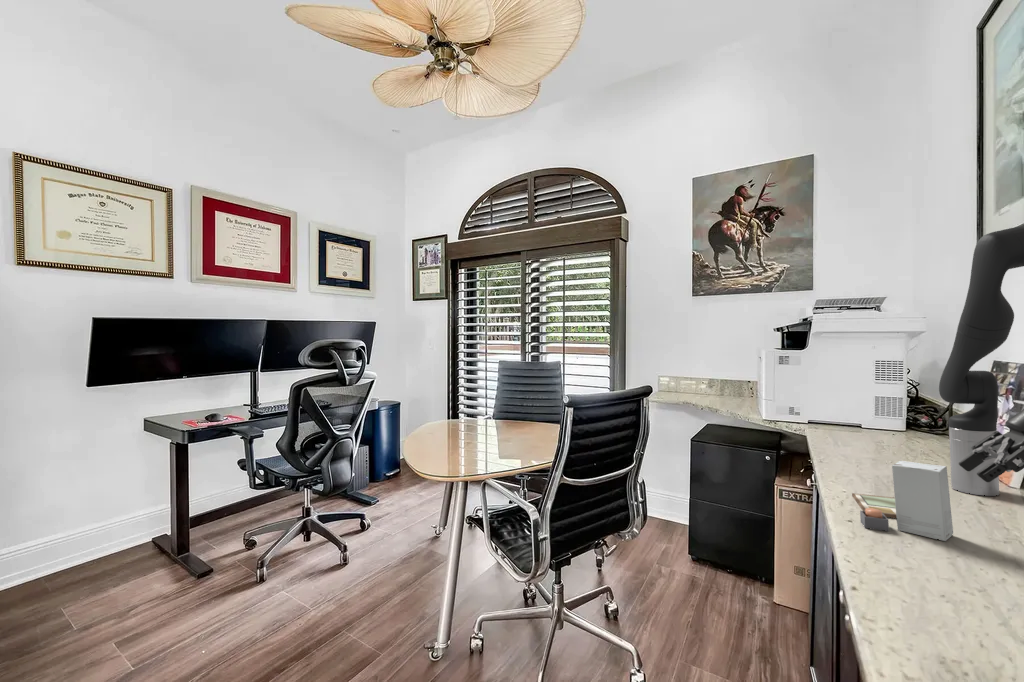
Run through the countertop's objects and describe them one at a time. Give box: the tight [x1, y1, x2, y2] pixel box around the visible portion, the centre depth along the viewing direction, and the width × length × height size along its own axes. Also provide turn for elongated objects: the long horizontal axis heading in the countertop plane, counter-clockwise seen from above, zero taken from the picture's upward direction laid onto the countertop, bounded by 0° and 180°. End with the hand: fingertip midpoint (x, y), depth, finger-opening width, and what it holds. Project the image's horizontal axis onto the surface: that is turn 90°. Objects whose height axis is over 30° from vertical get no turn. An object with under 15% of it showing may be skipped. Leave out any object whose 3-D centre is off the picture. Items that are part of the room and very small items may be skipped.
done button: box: [865, 508, 882, 518], centre depth 101 cm, size 3×3×2 cm
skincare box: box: [891, 460, 954, 542], centre depth 97 cm, size 8×6×15 cm
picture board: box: [851, 492, 897, 519], centre depth 112 cm, size 15×13×1 cm
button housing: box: [859, 510, 890, 532], centre depth 101 cm, size 4×4×3 cm
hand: (971, 473), depth 94 cm, fingers open, 8 cm apart
